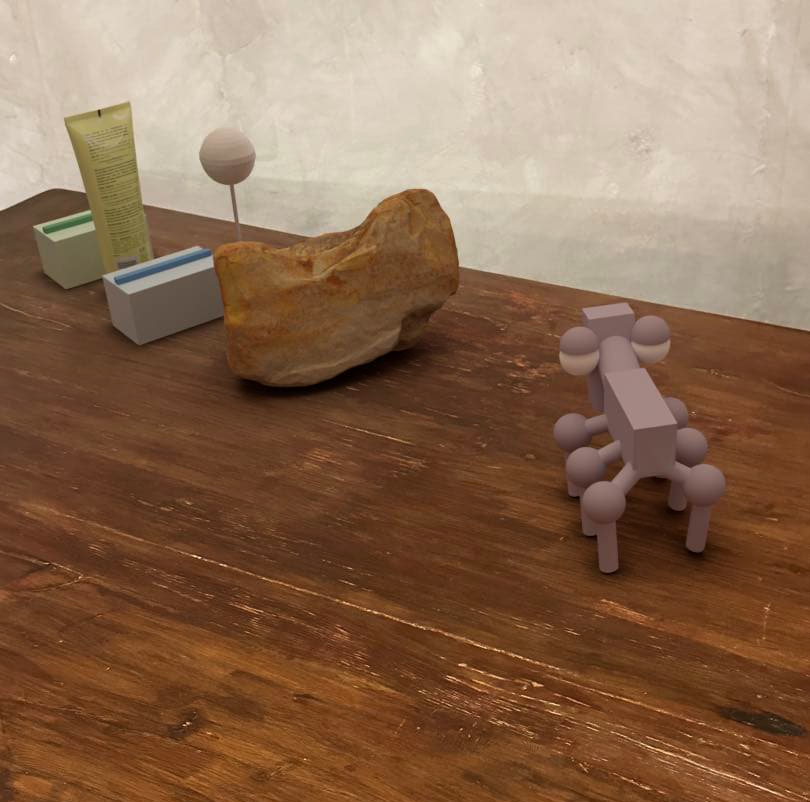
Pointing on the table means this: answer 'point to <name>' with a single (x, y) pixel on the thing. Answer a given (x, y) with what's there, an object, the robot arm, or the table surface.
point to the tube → (111, 183)
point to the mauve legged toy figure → (630, 428)
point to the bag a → (164, 295)
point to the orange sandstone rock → (337, 293)
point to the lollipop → (228, 161)
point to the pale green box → (72, 249)
